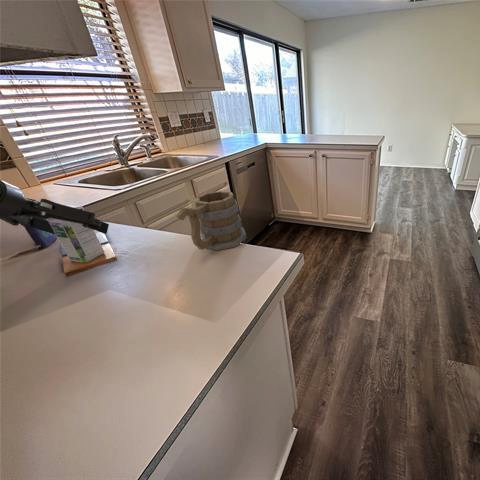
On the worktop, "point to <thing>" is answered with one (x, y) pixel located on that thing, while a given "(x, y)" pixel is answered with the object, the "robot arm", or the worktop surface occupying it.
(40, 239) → the flask
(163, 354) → the worktop surface
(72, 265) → the amber mat
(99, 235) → the slate mat
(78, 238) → the syrup box
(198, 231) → the tankard
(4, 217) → the robot arm
